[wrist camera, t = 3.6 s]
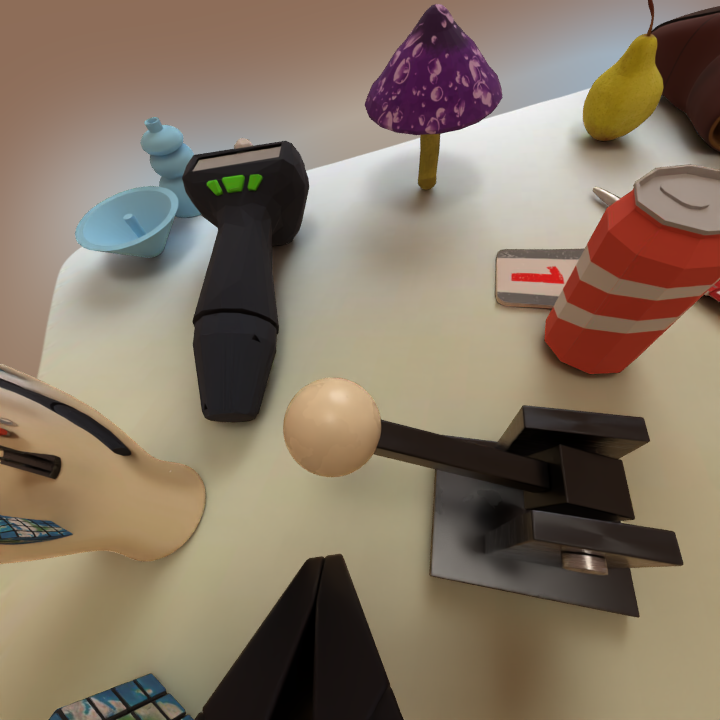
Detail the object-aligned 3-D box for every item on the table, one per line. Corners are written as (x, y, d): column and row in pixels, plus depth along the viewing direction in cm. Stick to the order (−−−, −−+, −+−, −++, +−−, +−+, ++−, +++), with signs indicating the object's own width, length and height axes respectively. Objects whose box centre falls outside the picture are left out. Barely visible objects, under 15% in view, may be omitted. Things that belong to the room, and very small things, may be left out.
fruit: (643, 127, 40) (722, -23, 30) (632, 156, 38) (715, 2, 27) (580, 119, 43) (633, -22, 33) (565, 146, 40) (619, 2, 30)
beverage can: (593, 301, 28) (699, 146, 18) (653, 364, 24) (825, 215, 14) (525, 324, 27) (594, 178, 17) (576, 390, 24) (698, 257, 14)
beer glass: (191, 575, 21) (-139, 575, 8) (91, 563, 22) (-340, 547, 9) (225, 460, 24) (33, 338, 12) (138, 455, 25) (-124, 337, 13)
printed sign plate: (496, 244, 32) (616, 247, 30) (495, 248, 32) (613, 251, 30) (496, 304, 29) (632, 311, 26) (495, 307, 29) (629, 315, 27)
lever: (270, 473, 13) (270, 450, 10) (295, 389, 15) (301, 349, 12) (576, 542, 15) (657, 541, 11) (564, 459, 16) (632, 438, 13)
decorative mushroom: (373, 228, 36) (355, 44, 24) (371, 165, 43) (357, -5, 30) (494, 216, 35) (543, 16, 23) (473, 153, 42) (501, -29, 29)
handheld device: (322, 200, 39) (296, 110, 29) (326, 427, 30) (291, 402, 21) (228, 213, 40) (175, 130, 30) (207, 435, 31) (122, 416, 22)
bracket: (428, 575, 19) (445, 575, 11) (436, 440, 23) (453, 366, 15) (627, 615, 18) (821, 649, 9) (598, 460, 22) (716, 389, 13)
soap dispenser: (167, 290, 35) (102, 211, 27) (87, 277, 37) (6, 201, 30) (243, 187, 44) (210, 106, 36) (174, 182, 46) (130, 105, 38)
